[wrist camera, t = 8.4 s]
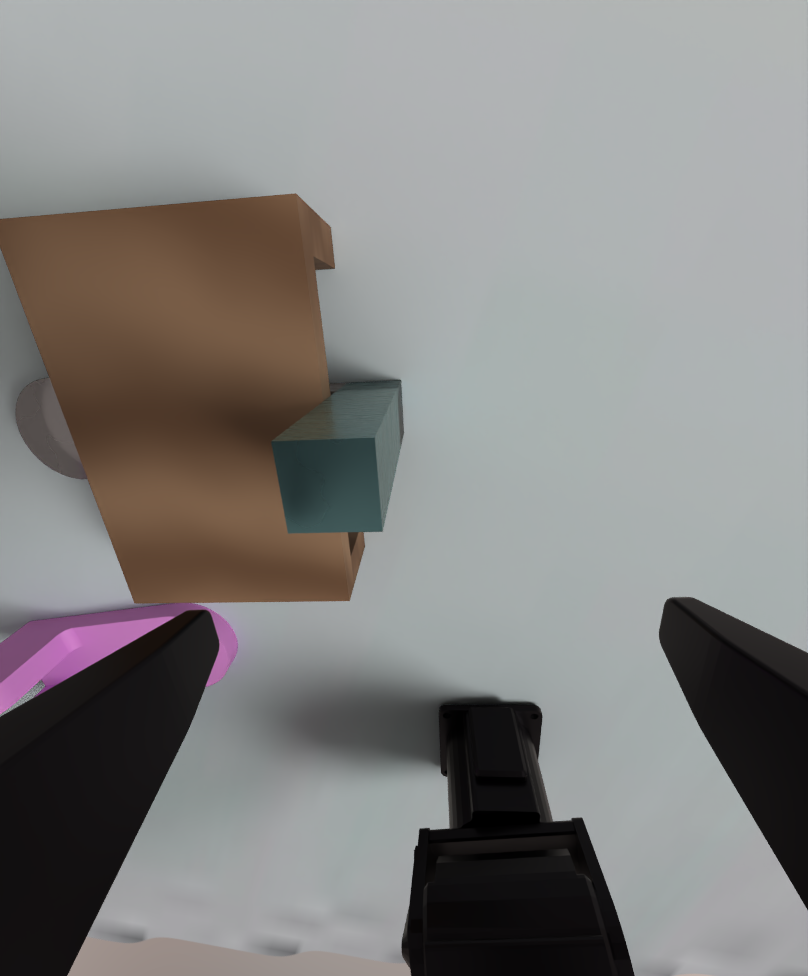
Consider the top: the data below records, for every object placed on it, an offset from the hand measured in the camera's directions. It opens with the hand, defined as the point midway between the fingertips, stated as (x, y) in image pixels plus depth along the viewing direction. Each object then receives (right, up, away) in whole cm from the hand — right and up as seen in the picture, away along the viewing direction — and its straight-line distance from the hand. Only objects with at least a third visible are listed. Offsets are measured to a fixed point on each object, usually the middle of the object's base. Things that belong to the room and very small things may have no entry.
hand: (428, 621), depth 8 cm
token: (-17, +6, +13) cm, 22 cm away
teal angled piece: (-7, +6, +12) cm, 15 cm away
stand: (-8, +6, +12) cm, 16 cm away
